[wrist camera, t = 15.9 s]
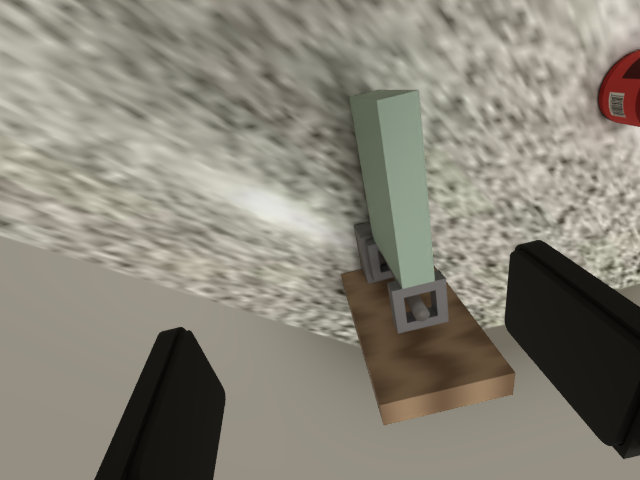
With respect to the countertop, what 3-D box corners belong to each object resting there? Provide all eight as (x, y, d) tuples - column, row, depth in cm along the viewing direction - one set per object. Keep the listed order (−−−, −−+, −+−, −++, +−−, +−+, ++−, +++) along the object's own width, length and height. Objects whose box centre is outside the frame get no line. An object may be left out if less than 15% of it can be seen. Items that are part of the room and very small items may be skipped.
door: (388, 87, 33) (432, 86, 23) (409, 265, 42) (448, 321, 32) (339, 99, 33) (362, 103, 23) (371, 275, 42) (398, 333, 32)
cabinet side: (422, 208, 42) (522, 312, 25) (426, 271, 47) (512, 394, 30) (331, 231, 42) (368, 349, 25) (344, 290, 47) (383, 425, 30)
